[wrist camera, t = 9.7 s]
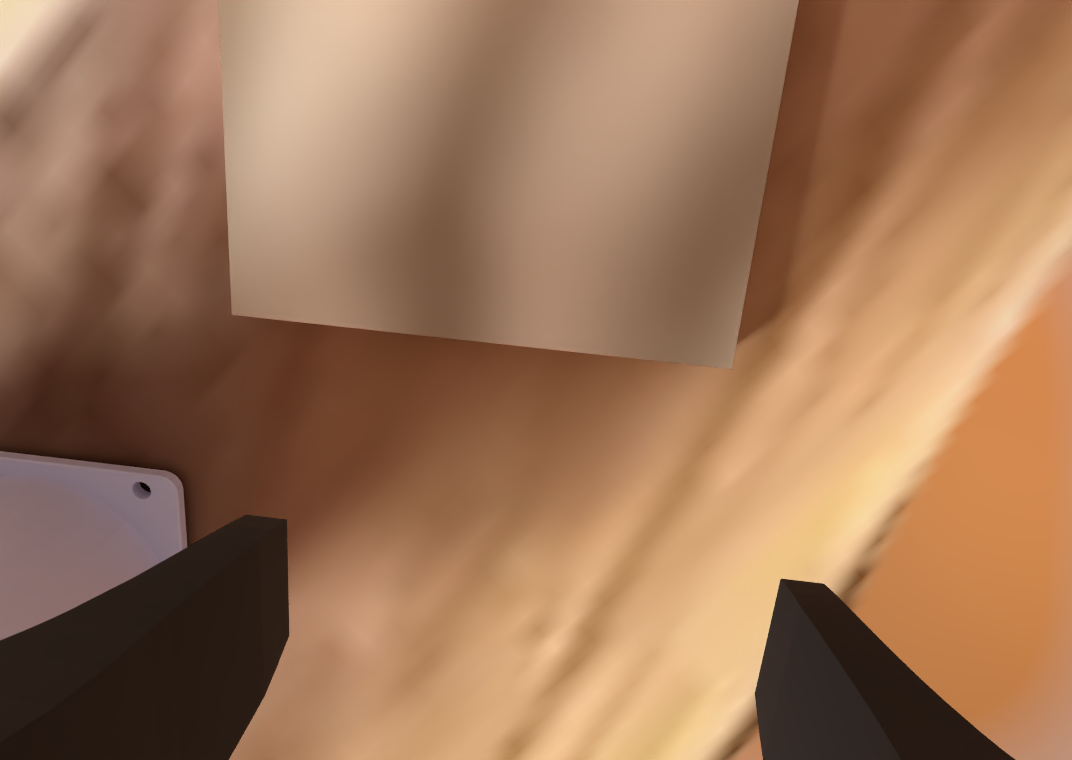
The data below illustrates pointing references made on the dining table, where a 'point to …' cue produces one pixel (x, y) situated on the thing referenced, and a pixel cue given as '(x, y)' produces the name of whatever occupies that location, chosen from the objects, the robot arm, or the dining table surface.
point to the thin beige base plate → (503, 167)
